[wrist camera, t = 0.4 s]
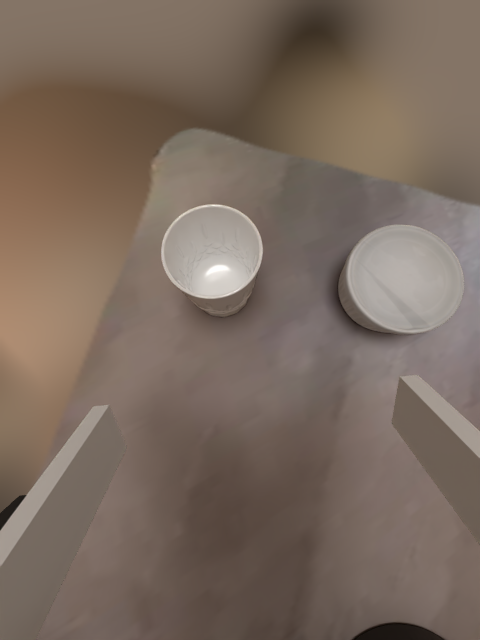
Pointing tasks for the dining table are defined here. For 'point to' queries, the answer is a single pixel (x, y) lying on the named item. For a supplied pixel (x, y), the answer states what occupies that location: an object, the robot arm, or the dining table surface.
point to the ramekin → (401, 281)
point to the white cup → (213, 257)
